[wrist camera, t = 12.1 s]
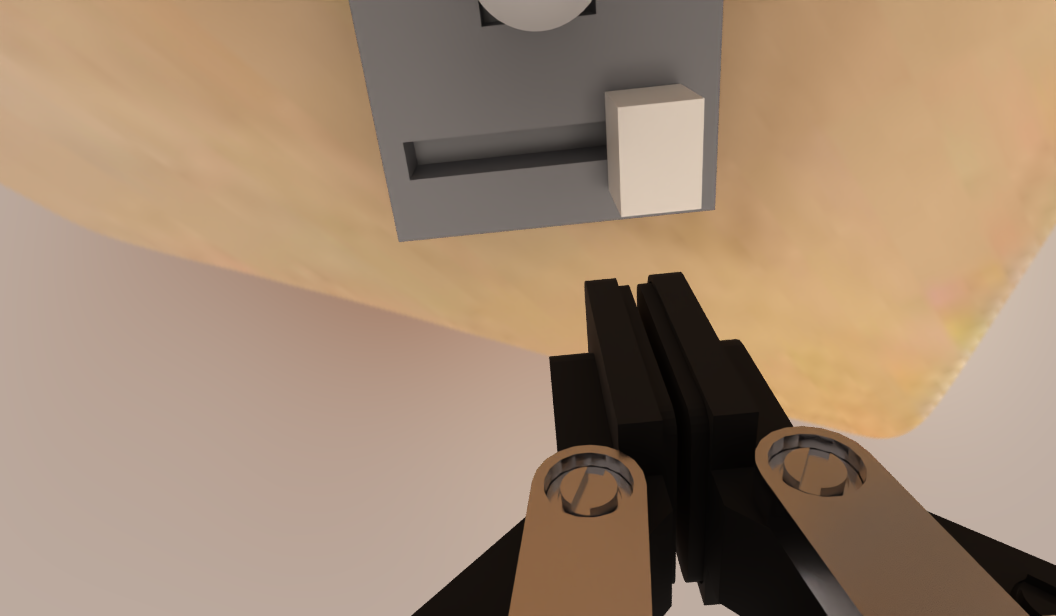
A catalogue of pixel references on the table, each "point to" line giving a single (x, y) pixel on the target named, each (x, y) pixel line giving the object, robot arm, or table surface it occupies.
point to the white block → (655, 149)
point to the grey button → (535, 12)
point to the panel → (521, 106)
